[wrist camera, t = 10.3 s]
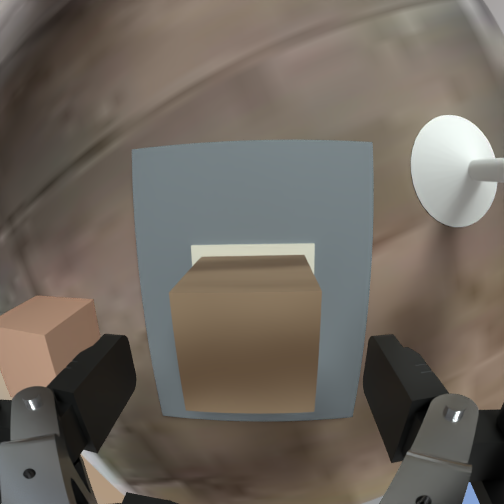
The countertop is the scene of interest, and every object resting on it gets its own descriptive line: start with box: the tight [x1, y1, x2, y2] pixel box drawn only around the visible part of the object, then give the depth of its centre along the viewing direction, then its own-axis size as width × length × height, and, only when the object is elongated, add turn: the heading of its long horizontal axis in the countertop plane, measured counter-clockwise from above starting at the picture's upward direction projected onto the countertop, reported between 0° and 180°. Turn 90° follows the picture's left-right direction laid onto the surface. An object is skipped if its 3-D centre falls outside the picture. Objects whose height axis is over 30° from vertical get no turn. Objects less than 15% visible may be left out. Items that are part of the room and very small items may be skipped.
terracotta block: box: [0, 296, 101, 397], centre depth 16 cm, size 5×5×6 cm
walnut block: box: [169, 255, 322, 414], centre depth 14 cm, size 5×5×6 cm
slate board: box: [132, 140, 373, 421], centre depth 17 cm, size 16×12×1 cm
